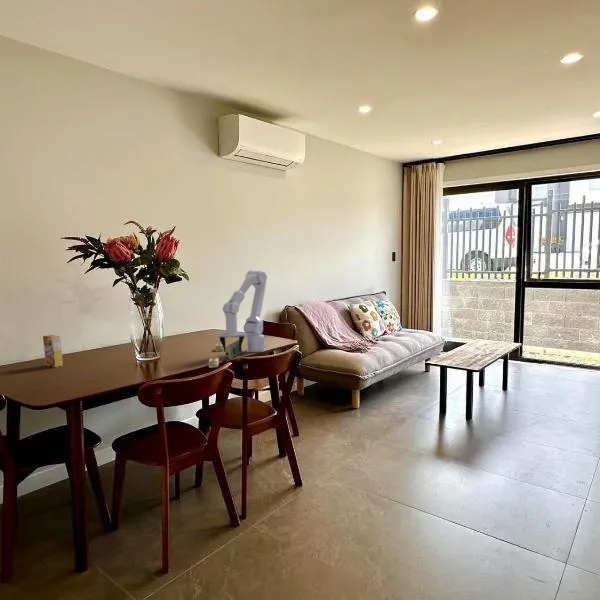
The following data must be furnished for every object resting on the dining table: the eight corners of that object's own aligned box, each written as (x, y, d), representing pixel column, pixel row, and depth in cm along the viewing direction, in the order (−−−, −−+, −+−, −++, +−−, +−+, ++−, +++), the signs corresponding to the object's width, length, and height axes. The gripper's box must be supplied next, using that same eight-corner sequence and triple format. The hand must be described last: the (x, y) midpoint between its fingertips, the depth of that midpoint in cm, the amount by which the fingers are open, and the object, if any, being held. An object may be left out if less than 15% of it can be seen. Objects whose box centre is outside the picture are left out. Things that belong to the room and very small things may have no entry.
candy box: (44, 366, 228) (42, 335, 226) (53, 364, 231) (50, 334, 230) (54, 368, 223) (52, 337, 221) (63, 366, 226) (60, 335, 225)
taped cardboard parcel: (224, 348, 258) (223, 343, 258) (217, 367, 216) (217, 360, 216) (216, 348, 258) (216, 343, 257) (209, 367, 216) (208, 361, 216)
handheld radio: (242, 351, 250) (227, 363, 225) (237, 352, 250) (221, 363, 226) (241, 339, 249) (226, 349, 225) (236, 340, 250) (220, 349, 225)
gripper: (216, 327, 231) (217, 353, 233) (245, 326, 233) (246, 352, 234) (217, 325, 238) (218, 350, 240) (245, 324, 240) (246, 349, 241)
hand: (232, 351), depth 237 cm, fingers open, 7 cm apart
